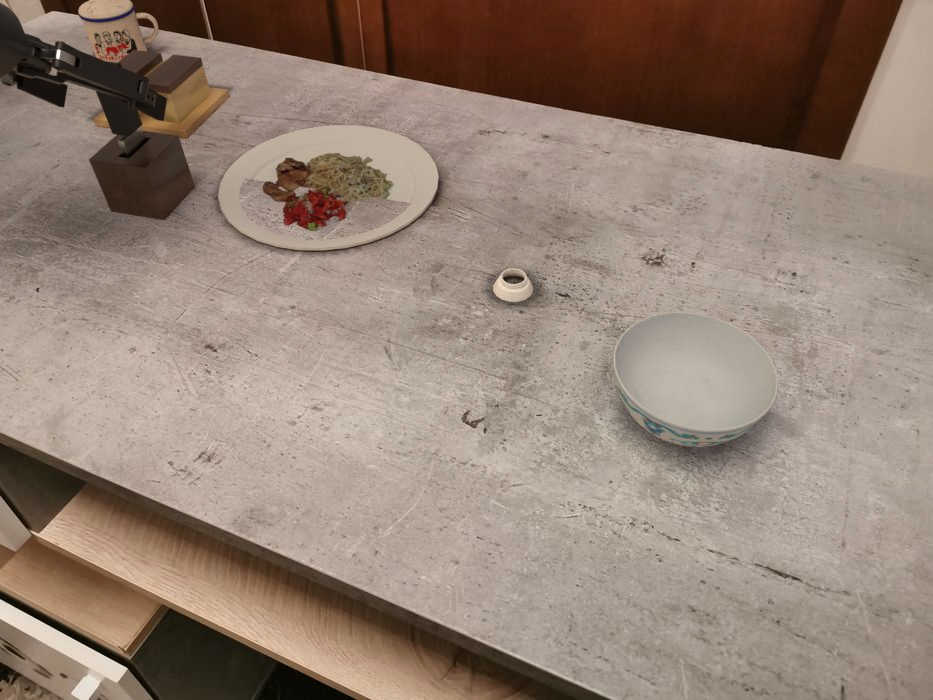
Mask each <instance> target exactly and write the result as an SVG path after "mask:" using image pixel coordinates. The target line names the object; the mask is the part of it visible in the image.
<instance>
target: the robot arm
mask: <svg viewBox="0 0 933 700" xmlns="http://www.w3.org/2000/svg"><path fill="white" fill-rule="evenodd" d="M52 69H55V70H56V74H55V75H54V74H51V73H52ZM149 80H150V79H149V78H147V77H146V76H142V75H139V74H137V73H134V72H132V71H129V70H127V69H124V68H122V67H119V66H117V65H114V64H112V63H109V62H106V61H104V60H101V59H99V58H96V56H95V55H92V54H89V53H86V52H84V51H82V50H80V49H77V48H76V47H73V46H71V45H70V44H67V43H66V42H64V41H59V40H57V41H55V42H54V45H53V44H51V43H48V42H45V41H42V39H40V38H39V37H37V36H35V35H32V34H29V33H25V31H24V28H23V25H22V23H21V20H20V19H19V17H18V16H17V14H16V13H15V12H14V11H13V9H11V8H9V7H8V6H7V5H5V4H4V3H2V2H0V82H1V83H2V84H3V85H5V86H6V87H15V85H16V89H18V90H20V91H22V92H24V93H27V94H29V95H31V96H33V97H36V98H37V99H40V100H42V101H45V102H47V103H49V104H52V105H54V106H56V107H58V108H65V107H66V106H65V105H66V99H67V93H68V86H69V85H67V84H65V83H68V84H72V85H76V86H78V87H82V88H84V89H88V90H91V91H95V92H96V91H97V92H101V93H104V94H107V95H110V96H114V97H117V98H120V99H123V103H125V104H127V108H130V109H134V108H135V109H137V110H138V111H140V112H142V113H144V114H146V115H148V116H150V117H152V118H154V119H156V120H158V121H164V116H165V110H166V103H167V98H165V97H164V96H162V95H160V94H158V93H157V92H155V91H153V90H151V89H150V88H148V87H149Z"/></svg>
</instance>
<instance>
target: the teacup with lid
mask: <svg viewBox="0 0 933 700" xmlns="http://www.w3.org/2000/svg"><path fill="white" fill-rule="evenodd" d="M78 17H79V18H80V19H81V21H82V24H83V26H84V30H85V31H86V34H87V37H88V39H89V42H90V44H91V48H92V50H93V53H94V57H96V58H99V59H101V60H104V61H108V62H116V63H117V62H119V61H120V60H121V59H123V58H124V57H125V56H126V55H128V54H129V53H130V52H132V51H133V50H139V51H148V50H147V46H146V44H149V43H152V42H153V41H155V40H156V39H157V37H158V34H159V24H158V21H157V19H156V18H155V17H154V16H153V15H151V13H147V12H137V13H136V12H135V5H134V4H133V2H132V1H131V0H88V1H85V2H83V3H82V4H81V5H80V6H79V8H78ZM140 19H146V20H149V21H150V22H151V23H152V25H153V28H154V29H153V33H152V34H151V35H149V36H147V37H144V36H143V34H142V30H141V27H140V24H139V21H138V20H140Z"/></svg>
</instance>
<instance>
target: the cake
mask: <svg viewBox="0 0 933 700" xmlns="http://www.w3.org/2000/svg"><path fill="white" fill-rule="evenodd" d="M117 63H121V65H122V68H124V69H127V70H129V71H132V72H134V73H137V74H139V75H142V76H146V77H147V78H149V79H150V80H149V87H148V88H150V89H151V90H153V91H155V92H157V93H158V94H160V95H162V96H164V97H165V98H167V103H166V110H165V116H164V121H158V120H156V119H154V118H152V117H150V116H148V115H146V114H144V113H142V112H140V111H138V113H139V116H140V119H141V121H142V124H143V125H142V126H141V128H142V131H149V132H156V133H163V134H171V135H178V136H179V139H180V138H181V139H188V138H189V137H190V136H191V135H192V134H193V133H194V132H196V130H197V129H198V128H199V127H200V126H201V125H202V124H203V123H205V121H206V120H207V119H208V118H209V117H210V116H211V115H213V113H214V112H215V111H216V110H217V109H218V108H219V107H220V106H221V105H222V104H223V103H224V102H226V100H227V99H228V98H229V97H230V92H229V90H228V89H226V88H221V87H220V88H219V87H210V85H209V81H208V79H207V78H208V77H207V73H206V71H205V67H204V63H203V60H202V57H200V56H199V57H198V56H191V55H181V54H172V55H171V56H170V57H169V58H167V59H166V60H165V61H164V59H163V55H162V53H161V52H155V51H149V50H147V51H139V50H133V51H132V52H130V53H129V54H128V55H126V56H125V57H124V58H123V59H121V60H120V61H119V62H117ZM92 121H93V123H94V125H95V126H96V127H102V128H108V129H110V126H109V123H108V121H107V118H106V116H105V113H104V111H103V110H102V111H100V112H99V113H98V114H97V115H96V116H95V117H93V118H92Z"/></svg>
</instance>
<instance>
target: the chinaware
mask: <svg viewBox="0 0 933 700" xmlns="http://www.w3.org/2000/svg"><path fill="white" fill-rule="evenodd" d="M612 369H613V377H614V382H615V386H616V390H617V393H618V395H619V397H620V400H621V402H622V403H623V405H624V407H625V409H626V411H627V412H628V413H629V414H630V416H631V417H632V418H633V420H634V421H635V422H636V423H637V424H638V425H639V426H641V428H643V429H644V430H645V431H647V432H648V433H650V434H651V435H653V436H654V437H656V438H658V439H660V440H662V441H665V442H668V443H670V444H674V445H677V446H681V447H682V446H683V447H689V448H702V447H703V448H704V447H713V446H718V445H721V444H725V443H728V442H730V441H732V440H734V439H736V438H739V437H740V436H741V435H744V434H745V433H746V432H748V431H750V430H751V429H753V428H754V427H755V426H756V425H757V424H758V423H759V422H760V421H761V420H762V419H763V418H764V417H765V416H766V414H767V413H768V412H769V411H770V409H771V408H772V406H773V405H774V404H775V402H776V399H777V396H778V391H779V375H778V371H777V368H776V366H775V363H774V361H773V359H772V358H771V356H770V354H769V353H768V352H767V350H766V349H765V348H764V347H763V345H762V344H761V343H760V342H759V341H758V340H756V339H755V338H754V337H753V336H751V335H750V334H749V333H747V332H746V331H745V330H743V329H742V328H739V327H738V326H736V325H735V324H732V323H730V322H728V321H726V320H724V319H721V318H718V317H715V316H712V315H708V314H704V313H700V312H699V313H698V312H692V311H665V312H661V313H656V314H652V315H649V316H646V317H644V318H641V319H639V320H637V321H636V322H634V323H633V324H631V325H630V326H628V328H626V329H625V330H624V332H623V333H621V335H620V337H619V338H618V340H617V342H616V343H615V346H614V350H613V356H612Z"/></svg>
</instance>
